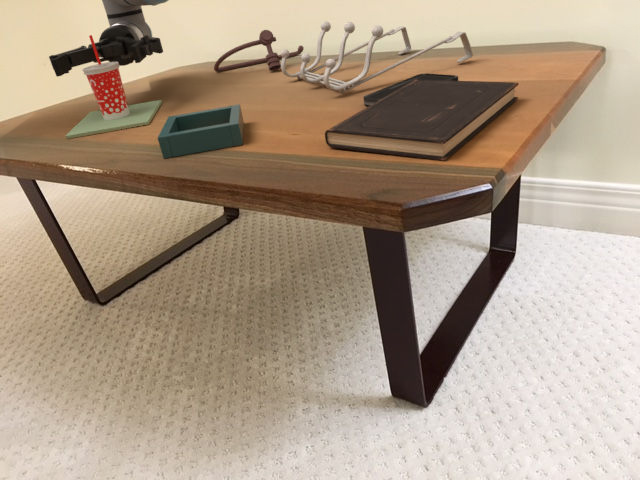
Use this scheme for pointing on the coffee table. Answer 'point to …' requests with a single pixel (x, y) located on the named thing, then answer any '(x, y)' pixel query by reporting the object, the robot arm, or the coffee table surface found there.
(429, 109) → the hardcover book
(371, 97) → the phone
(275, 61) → the toilet paper hanger
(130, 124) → the mat
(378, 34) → the over door rack
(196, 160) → the coffee table surface
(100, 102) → the beverage cup
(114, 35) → the robot arm
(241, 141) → the open rectangular box
